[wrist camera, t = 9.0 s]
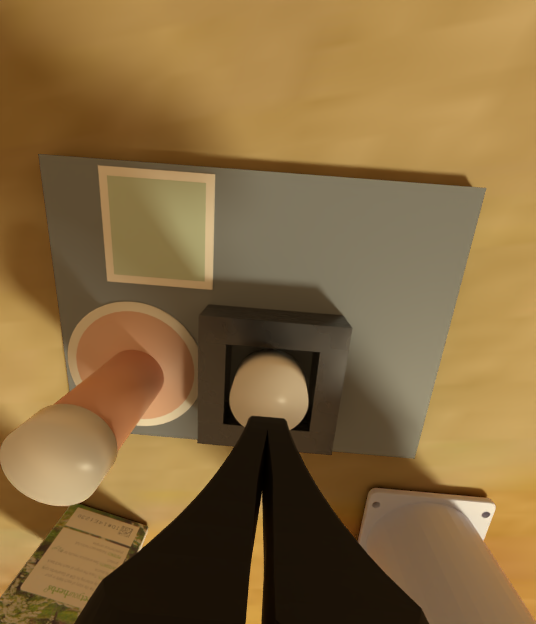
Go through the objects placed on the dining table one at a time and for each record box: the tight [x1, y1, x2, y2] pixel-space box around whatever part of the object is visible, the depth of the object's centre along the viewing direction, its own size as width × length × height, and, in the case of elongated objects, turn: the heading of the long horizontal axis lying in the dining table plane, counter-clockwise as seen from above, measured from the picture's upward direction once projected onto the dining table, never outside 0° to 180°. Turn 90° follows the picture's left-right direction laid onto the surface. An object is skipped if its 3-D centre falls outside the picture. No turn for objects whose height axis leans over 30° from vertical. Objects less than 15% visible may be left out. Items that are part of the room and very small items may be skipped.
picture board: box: [38, 154, 486, 459], centre depth 16 cm, size 15×20×1 cm
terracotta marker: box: [0, 350, 164, 506], centre depth 13 cm, size 4×4×6 cm
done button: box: [229, 349, 309, 430], centre depth 14 cm, size 4×4×2 cm
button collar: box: [197, 304, 353, 455], centre depth 15 cm, size 7×7×2 cm
